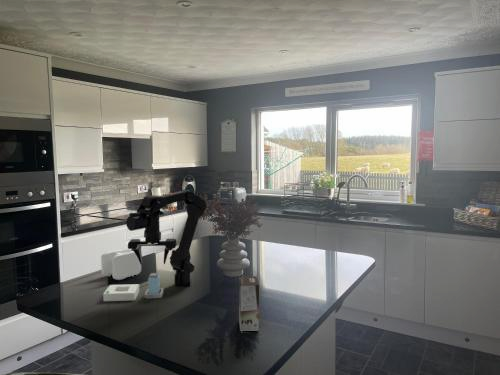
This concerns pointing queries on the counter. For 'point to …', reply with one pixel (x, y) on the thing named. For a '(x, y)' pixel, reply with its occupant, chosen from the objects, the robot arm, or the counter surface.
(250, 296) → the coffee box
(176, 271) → the robot arm
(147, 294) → the gray square frame
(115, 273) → the cable organizer
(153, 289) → the plug
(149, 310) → the counter surface
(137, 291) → the port panel
